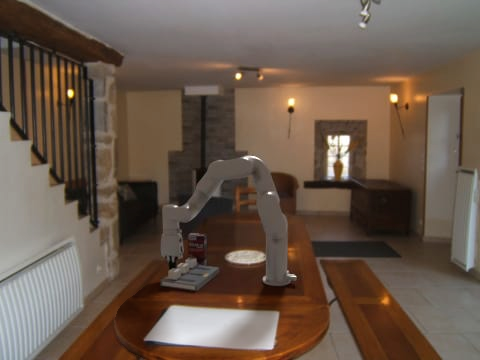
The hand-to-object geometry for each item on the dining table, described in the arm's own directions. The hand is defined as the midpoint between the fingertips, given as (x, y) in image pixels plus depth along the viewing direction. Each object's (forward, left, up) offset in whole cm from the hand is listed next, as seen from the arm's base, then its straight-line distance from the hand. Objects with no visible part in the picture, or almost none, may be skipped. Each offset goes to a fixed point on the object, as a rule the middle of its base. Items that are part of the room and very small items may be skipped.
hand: (172, 269), depth 193 cm
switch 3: (-6, -8, 0) cm, 10 cm away
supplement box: (-4, -19, -4) cm, 20 cm away
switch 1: (-6, +8, -1) cm, 10 cm away
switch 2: (-6, 0, 0) cm, 6 cm away
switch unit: (-10, 0, -3) cm, 10 cm away
